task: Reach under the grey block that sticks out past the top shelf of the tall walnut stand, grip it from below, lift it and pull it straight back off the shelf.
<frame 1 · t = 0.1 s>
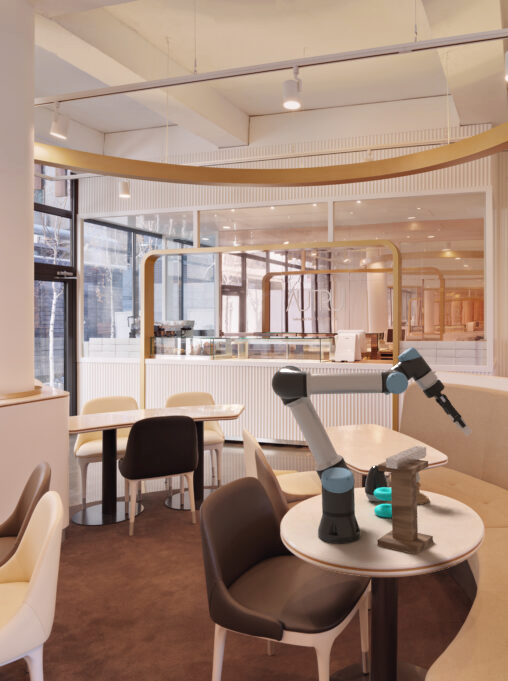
hand: (465, 430, 213), 36 cm above the table, tool tilted 35°, fingers open, 13 cm apart
teacup with lid: (381, 493, 260), on the table
stand: (405, 543, 198), on the table
candle holder: (414, 500, 247), on the table
donuts: (387, 515, 229), on the table
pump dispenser: (377, 500, 249), on the table
grey block: (407, 461, 200), point 28 cm above the table, touching stand
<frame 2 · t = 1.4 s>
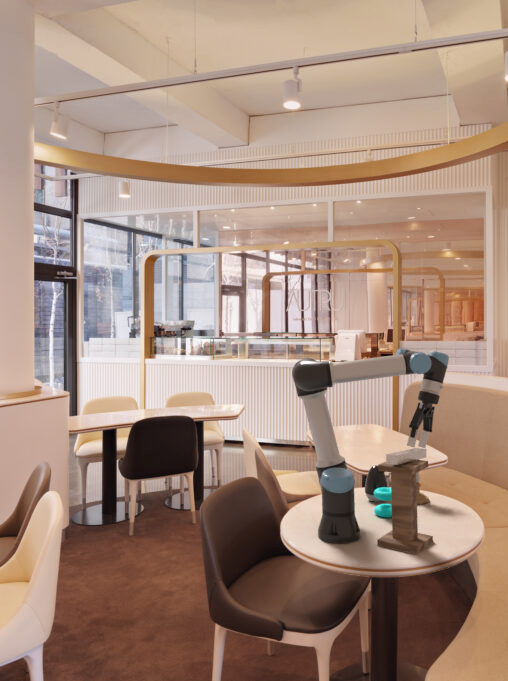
hand: (416, 447, 216), 30 cm above the table, tool tilted 15°, fingers open, 13 cm apart
grey block: (407, 460, 200), point 28 cm above the table, tilted 5°, touching gripper, stand
everything else where it was.
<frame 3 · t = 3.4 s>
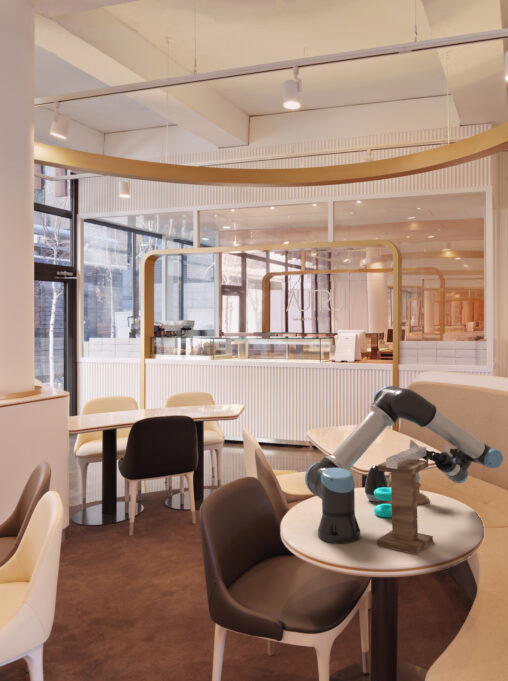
hand: (428, 445, 214), 30 cm above the table, tool pointing upward, fingers open, 13 cm apart
grey block: (407, 461, 200), point 28 cm above the table, touching stand
everything else where it was.
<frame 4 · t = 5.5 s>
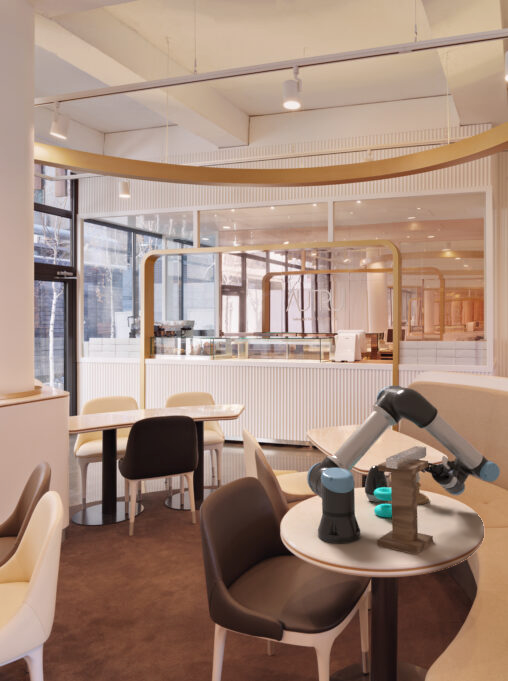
hand: (424, 457, 210), 27 cm above the table, tool pointing upward, fingers open, 13 cm apart
nothing on the table moved.
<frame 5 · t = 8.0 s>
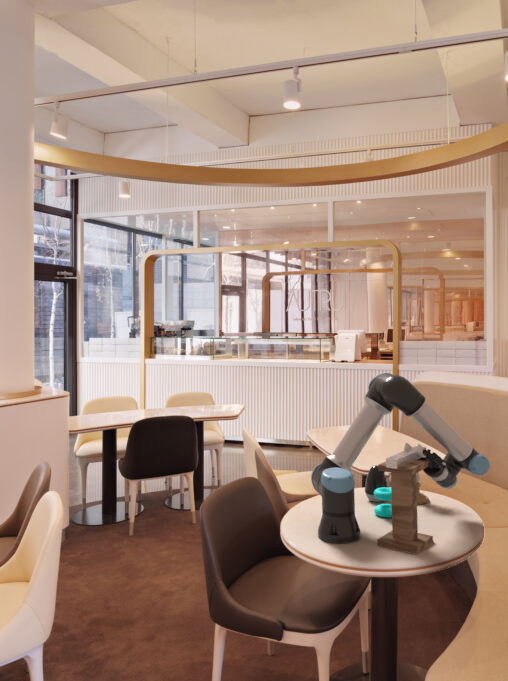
hand: (412, 447, 203), 32 cm above the table, tool pointing upward, fingers closed on grey block, 4 cm apart
grey block: (407, 461, 200), point 28 cm above the table, touching gripper, stand
everything else where it was.
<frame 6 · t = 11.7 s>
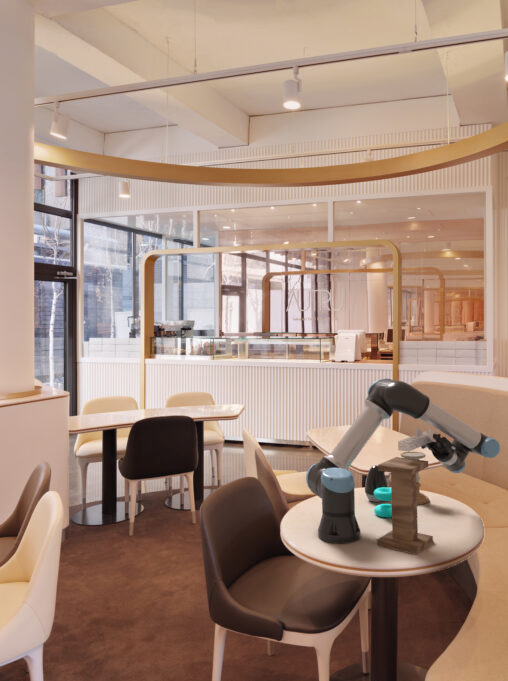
hand: (422, 431, 211), 36 cm above the table, tool pointing upward, fingers closed on grey block, 4 cm apart
grey block: (418, 444, 207), point 32 cm above the table, touching gripper
everything else where it was.
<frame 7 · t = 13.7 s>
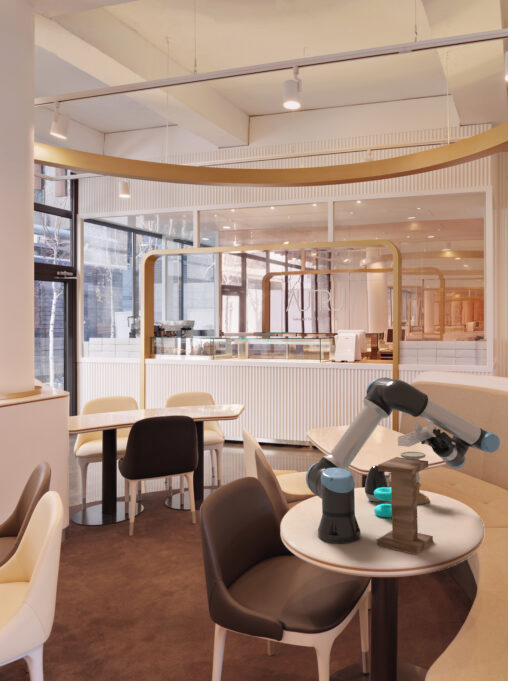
hand: (422, 426, 211), 38 cm above the table, tool pointing upward, fingers closed on grey block, 4 cm apart
grey block: (417, 440, 208), point 34 cm above the table, touching arm, gripper
everything else where it was.
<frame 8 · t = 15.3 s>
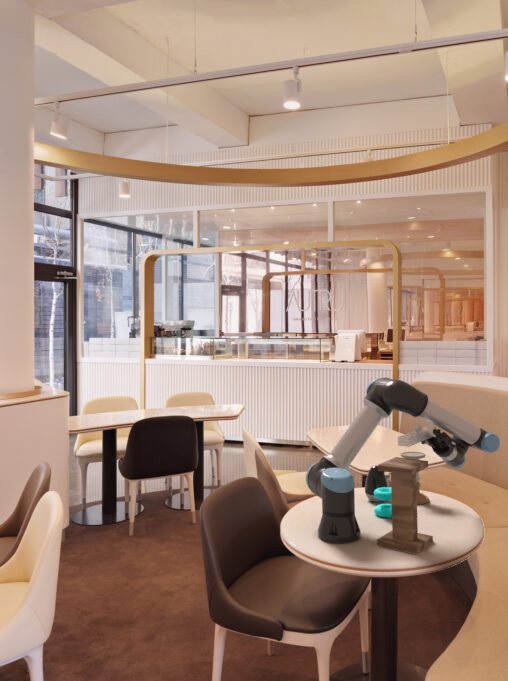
hand: (422, 426, 211), 38 cm above the table, tool pointing upward, fingers closed on grey block, 4 cm apart
grey block: (417, 440, 208), point 34 cm above the table, touching arm, gripper
everything else where it was.
at the end: grey block touching arm, gripper; the gripper is holding grey block; grey block point 33.7 cm above the table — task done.
